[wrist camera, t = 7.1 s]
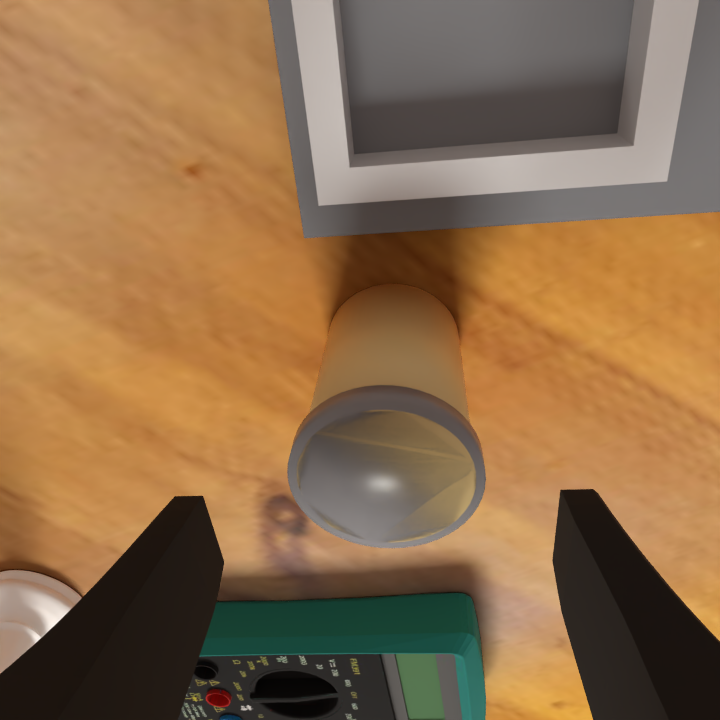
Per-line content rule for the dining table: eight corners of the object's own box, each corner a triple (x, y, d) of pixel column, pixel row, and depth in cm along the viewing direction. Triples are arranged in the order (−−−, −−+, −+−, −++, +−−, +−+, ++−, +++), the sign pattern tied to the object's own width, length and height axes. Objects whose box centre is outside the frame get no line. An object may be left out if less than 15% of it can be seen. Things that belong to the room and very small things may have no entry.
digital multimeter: (127, 591, 27) (97, 656, 24) (475, 580, 25) (482, 649, 22) (180, 685, 31) (158, 749, 28) (484, 683, 29) (490, 752, 26)
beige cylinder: (465, 273, 17) (487, 398, 12) (465, 398, 19) (484, 547, 14) (313, 281, 18) (271, 405, 12) (330, 403, 20) (302, 548, 15)
